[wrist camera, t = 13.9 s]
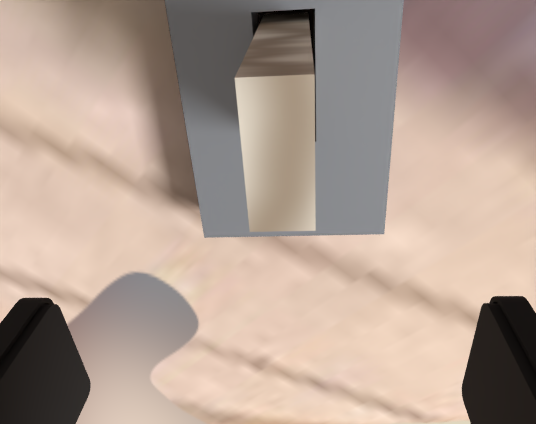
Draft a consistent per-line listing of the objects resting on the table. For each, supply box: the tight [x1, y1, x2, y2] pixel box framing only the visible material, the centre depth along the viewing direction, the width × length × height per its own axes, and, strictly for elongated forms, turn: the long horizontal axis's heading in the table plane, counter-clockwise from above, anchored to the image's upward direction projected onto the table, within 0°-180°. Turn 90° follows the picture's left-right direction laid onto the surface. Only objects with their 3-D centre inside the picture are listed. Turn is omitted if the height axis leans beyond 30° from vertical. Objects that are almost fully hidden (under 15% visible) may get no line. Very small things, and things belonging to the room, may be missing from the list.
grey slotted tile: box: [165, 0, 404, 238], centre depth 30 cm, size 14×24×4 cm, turn 4°
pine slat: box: [235, 12, 316, 232], centre depth 25 cm, size 3×7×16 cm, turn 3°
